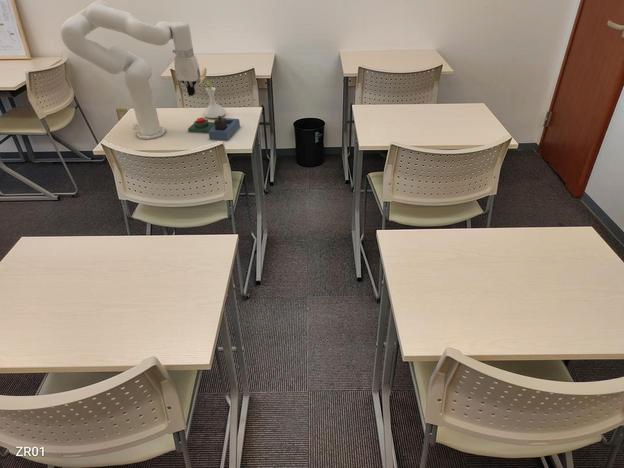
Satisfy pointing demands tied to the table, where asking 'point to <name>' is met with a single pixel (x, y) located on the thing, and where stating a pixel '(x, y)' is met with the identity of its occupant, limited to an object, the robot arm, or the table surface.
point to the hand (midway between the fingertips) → (191, 94)
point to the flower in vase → (211, 100)
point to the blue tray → (228, 132)
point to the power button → (200, 120)
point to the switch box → (201, 127)
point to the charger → (220, 123)
